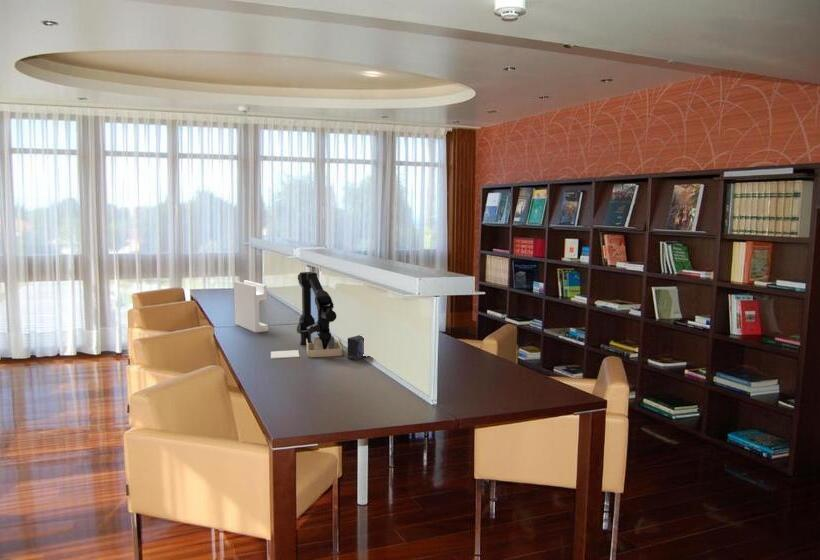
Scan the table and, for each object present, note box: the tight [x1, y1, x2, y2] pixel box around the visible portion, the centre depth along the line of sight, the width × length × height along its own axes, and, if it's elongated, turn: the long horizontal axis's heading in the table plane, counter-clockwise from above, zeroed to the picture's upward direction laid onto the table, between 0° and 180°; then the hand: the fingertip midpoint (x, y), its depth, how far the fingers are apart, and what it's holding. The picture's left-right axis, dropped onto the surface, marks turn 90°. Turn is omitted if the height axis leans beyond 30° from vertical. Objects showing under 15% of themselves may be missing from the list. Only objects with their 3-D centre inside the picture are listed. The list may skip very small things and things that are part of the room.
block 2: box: [313, 335, 335, 350], centre depth 327 cm, size 5×10×8 cm, turn 102°
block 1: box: [233, 279, 269, 334], centre depth 396 cm, size 35×8×28 cm, turn 35°
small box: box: [347, 334, 367, 361], centre depth 316 cm, size 11×6×10 cm, turn 143°
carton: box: [305, 337, 344, 358], centre depth 327 cm, size 17×17×6 cm
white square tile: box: [270, 349, 300, 360], centre depth 323 cm, size 14×14×1 cm
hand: (324, 348), depth 327 cm, fingers closed on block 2, 5 cm apart
